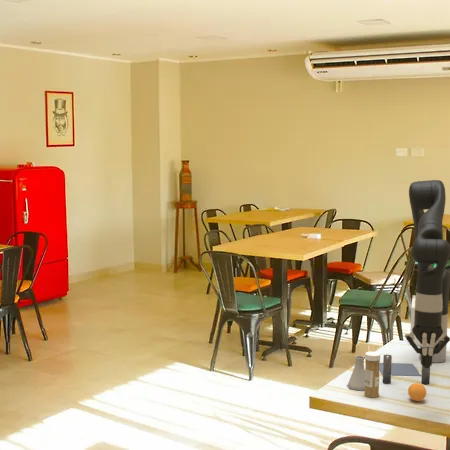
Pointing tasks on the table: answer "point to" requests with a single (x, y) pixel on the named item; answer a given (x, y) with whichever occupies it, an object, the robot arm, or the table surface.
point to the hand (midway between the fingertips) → (425, 367)
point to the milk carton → (413, 319)
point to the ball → (417, 392)
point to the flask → (358, 375)
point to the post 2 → (425, 376)
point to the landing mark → (401, 369)
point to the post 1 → (387, 369)
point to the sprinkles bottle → (372, 374)
